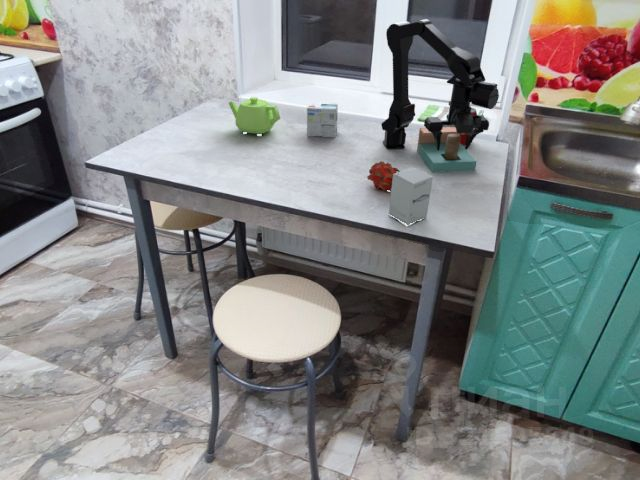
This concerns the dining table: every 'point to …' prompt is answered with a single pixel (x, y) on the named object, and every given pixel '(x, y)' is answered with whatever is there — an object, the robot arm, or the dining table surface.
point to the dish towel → (439, 112)
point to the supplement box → (410, 195)
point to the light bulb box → (322, 119)
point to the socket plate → (443, 152)
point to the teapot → (255, 115)
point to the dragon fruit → (382, 175)
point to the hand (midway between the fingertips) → (451, 149)
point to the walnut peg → (452, 147)
